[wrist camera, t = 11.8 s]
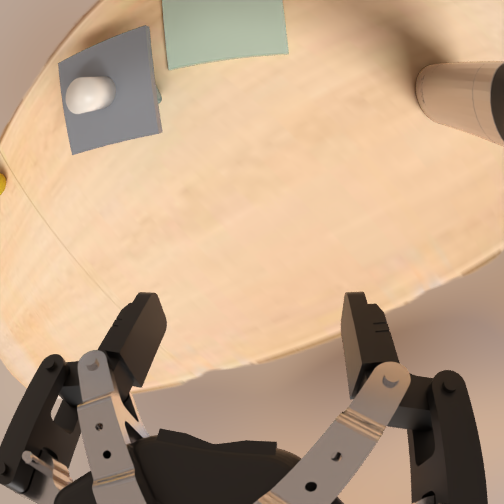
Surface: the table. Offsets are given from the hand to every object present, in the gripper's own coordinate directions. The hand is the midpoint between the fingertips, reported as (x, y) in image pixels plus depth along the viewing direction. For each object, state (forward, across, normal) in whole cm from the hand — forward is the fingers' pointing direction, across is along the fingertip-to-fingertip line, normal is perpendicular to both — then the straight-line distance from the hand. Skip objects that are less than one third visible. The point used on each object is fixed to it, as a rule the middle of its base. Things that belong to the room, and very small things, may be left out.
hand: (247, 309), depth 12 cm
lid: (+21, +18, -12) cm, 30 cm away
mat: (+30, +5, -22) cm, 38 cm away
